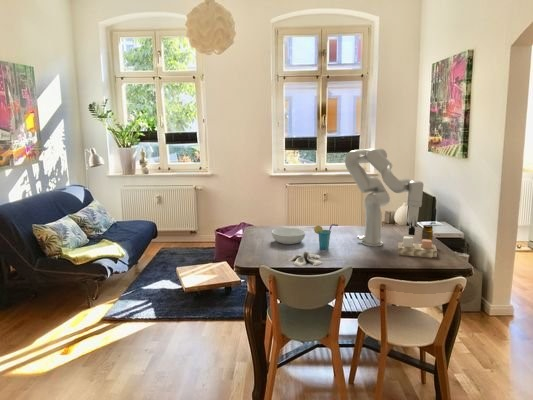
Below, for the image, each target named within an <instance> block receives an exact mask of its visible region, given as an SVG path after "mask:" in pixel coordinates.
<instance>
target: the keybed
mask: <svg viewBox="0 0 533 400" xmlns="http://www.w3.org/2000/svg"><path fill="white" fill-rule="evenodd" d="M397 245H398V246H397V248H398V249H397V250H398V251H397V254H398V256H408V257H409V256H411V257H422V258H424V257H425V258H432V257H435V258H434V259H437V257H438V256H437V255H438V250H437V247H436V245H435V244H433V245H432V249H426V248H421V247H422V244H419V243H415V242H413V247H403V241H402V242H400V241H398V244H397Z"/></svg>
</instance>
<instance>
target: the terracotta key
mask: <svg viewBox="0 0 533 400" xmlns="http://www.w3.org/2000/svg"><path fill="white" fill-rule="evenodd" d="M421 242H422V247H421V248H426V249H432V244H433V240H432V241H431V240H427V239H423V240H422V239H421Z"/></svg>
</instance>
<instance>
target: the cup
mask: <svg viewBox="0 0 533 400" xmlns="http://www.w3.org/2000/svg"><path fill="white" fill-rule="evenodd" d="M332 226H335V227H338V226H339V225H338V224H336V223H331V224H330V227H329V229H323V226H321V225H316V226H315V227H314V229H313V231H314V233H315V234H317V235H318V243H319V244H318V245H319V247H318V248H319V250H321V251H328V250H329V249H330V248H329V247H330V240H331V239H330V238H331V234H332V233H331V232H332V231H331V230H332Z"/></svg>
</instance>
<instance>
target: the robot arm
mask: <svg viewBox="0 0 533 400" xmlns="http://www.w3.org/2000/svg"><path fill="white" fill-rule="evenodd" d="M344 158H345V159H344V164H345V165H344V166H345V168H346V170H347V172H349V173H348V174H350V175H351V177H352V179H353V181H354V183H355V184H356V186H357V188H358V189H359V191H360V192H361V193H363V194H367V195H366V196H365V198H364V206H365V207H364V208H365V220H364V221H365V222H364V223H365V225H364V227H365V228H364V235H357V240H361V243H362V244H363V245H365V246H369V247H380V246H383V245H384V242H383V241H382V239H381V238H382V219H383V216H382V215H383V214H382V211H381V208H382V207H383V208H384V207H386V206H387V205H389V203H390V201H391V197H390V194H389V192H388V190H387V189H386V187H385V186H387V187H388V189H389V190H390V191H392V192H393V193H395V194H402V193H408V194H407V204H406V206H408V209H407V217H406V218H407V219H406V220H407V223H408V225H409V227H408V236H415V233H416V232H415V231H416V225H417V224H418V220H419V211H420V208H421V207H422V205H423V195H424V194H423V192H424V183H423V181H420V180H412V179H410V178H401V179H400V178H397V177H396V175H395V174H394V173H393V171H392V168H393V164H392V162H391V161H390V160H389V159H388V154H387V151H386V150H385V149H384V148H380V147H379V148H367V149H365V148H363V149H354V150H350V151H349V152H348V153H347V154H346V155H345V157H344ZM365 163H368V164H369V163H370V165H371V167H373V168H375V170H377V172H378V173H379V174H380V176H381V179H382V181H383V183H384V184H385V186H384V184H383V183H382V181H381V180H380V179H379V178H378V177H377V176H369V175H368V173H367V171H366V170H365V169H364V168H363V167H362V165H360V164H365Z"/></svg>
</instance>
